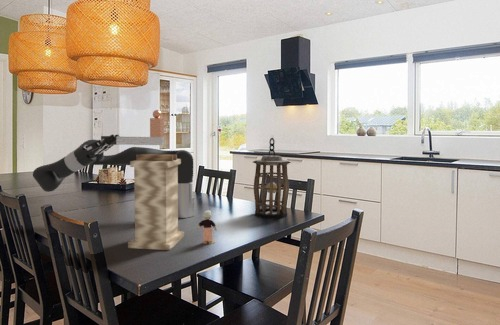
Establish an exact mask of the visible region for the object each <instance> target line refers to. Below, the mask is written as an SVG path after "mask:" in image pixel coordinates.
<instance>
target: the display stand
mask: <svg viewBox="0 0 500 325" xmlns="http://www.w3.org/2000/svg"><path fill="white" fill-rule="evenodd" d="M179 164H181V159H177V155H165V154H141V155H136V160H135V161H130V165H129V166H130V168H134V170H133V172H134V175H133V176H134V177H133V178H134V180H133V182H134V183H133V184H134V186H133V187H134V238H132V239H131V240H130V241H129V242H127V249H138V250H140V249H141V250H159V251H161V250H162V251H170V250H172V249H173V248H174V247H175V246H176V245H177V244H178V243H179V242H180V241H181V240H182V239H183V238H184V237H185V231H183V230H181V231H180V230H179V218H178V165H179Z"/></svg>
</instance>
